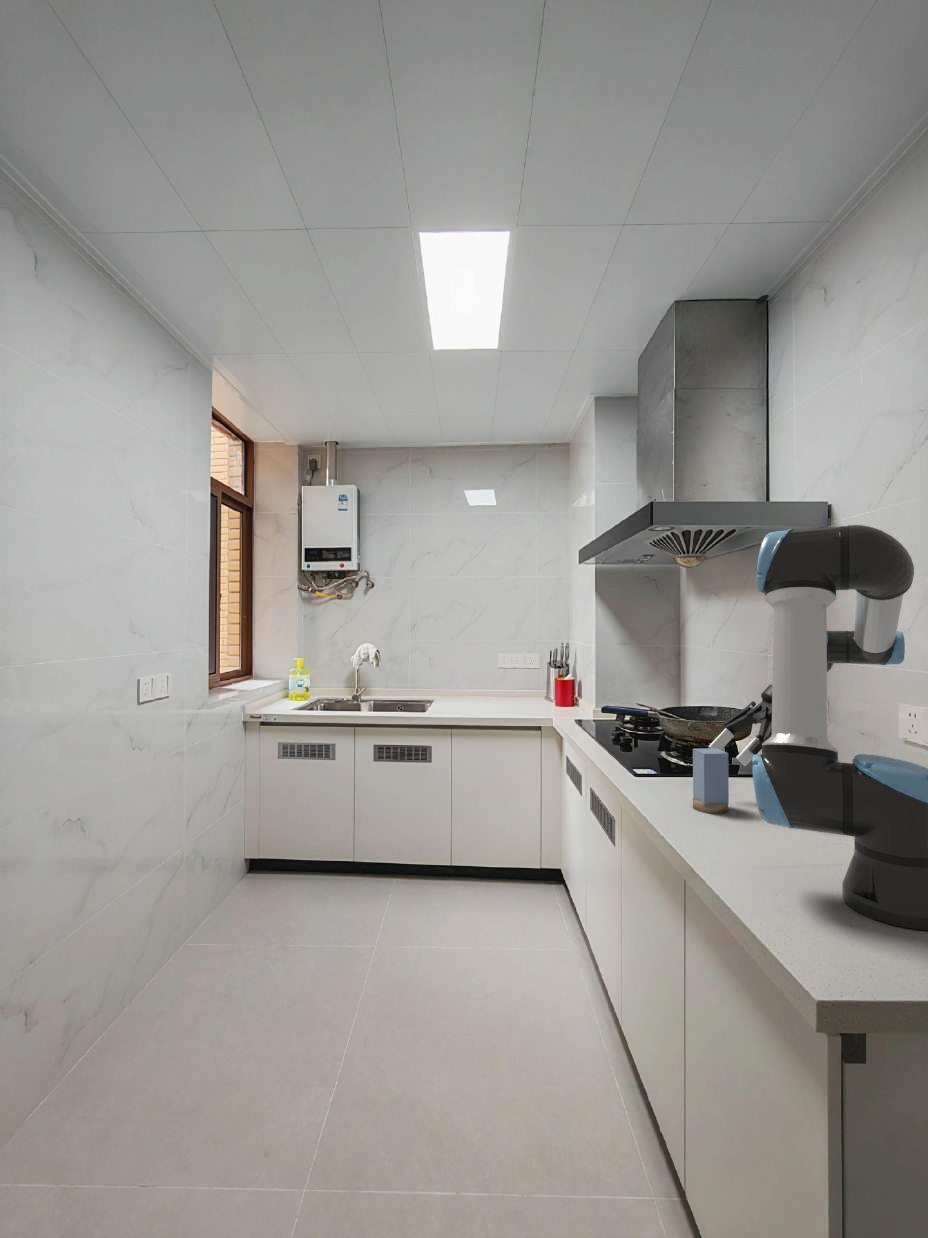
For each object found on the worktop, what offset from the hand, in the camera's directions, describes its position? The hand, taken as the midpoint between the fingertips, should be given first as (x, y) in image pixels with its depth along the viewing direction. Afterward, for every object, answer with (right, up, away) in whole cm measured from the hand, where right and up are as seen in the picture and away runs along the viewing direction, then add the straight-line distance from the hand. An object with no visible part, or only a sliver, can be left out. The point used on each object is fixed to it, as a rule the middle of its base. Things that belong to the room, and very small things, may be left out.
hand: (725, 756), depth 152 cm
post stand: (-4, -13, -1) cm, 13 cm away
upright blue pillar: (-4, -11, -1) cm, 11 cm away
